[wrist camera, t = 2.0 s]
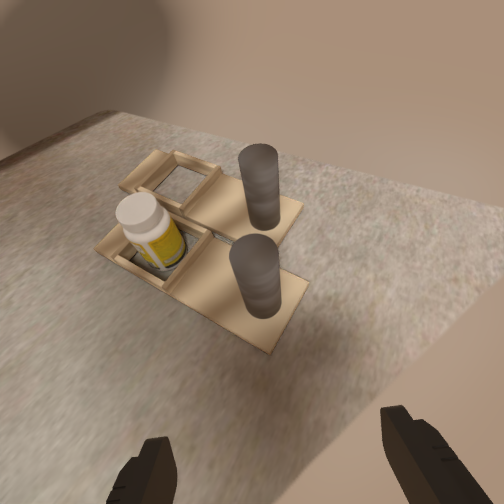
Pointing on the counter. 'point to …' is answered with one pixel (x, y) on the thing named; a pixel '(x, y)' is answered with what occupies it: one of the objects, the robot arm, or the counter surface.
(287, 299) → the wooden rack with post
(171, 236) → the supplement bottle
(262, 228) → the empty strip
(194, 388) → the counter surface
